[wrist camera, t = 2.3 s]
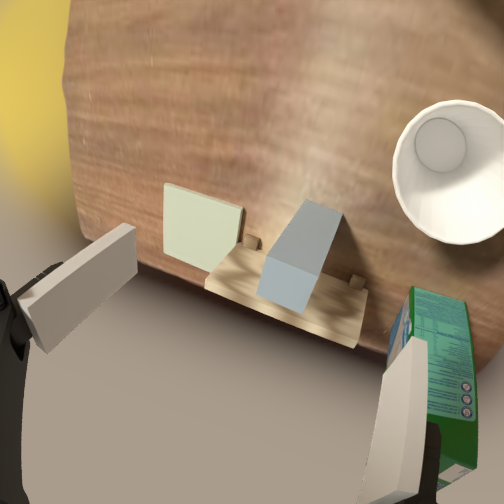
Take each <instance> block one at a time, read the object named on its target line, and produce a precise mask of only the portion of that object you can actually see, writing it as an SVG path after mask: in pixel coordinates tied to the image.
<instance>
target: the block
mask: <svg viewBox="0 0 504 504" xmlns="http://www.w3.org/2000/svg"><path fill="white" fill-rule="evenodd" d="M342 215H343V213H340V212H338V211H335V210H333V209H330V208H328V207H325V206H322V205H320V204H317V203H315V202H312V201H309V200H307V199H306V200H305V201H304V203H303V204H302V205H301V207H300V208H299V210H298V211H297V213H296V214H295V216H294V217H293V218H292V220H291V221H290V223H289V224H288V226H287V227H286V228H285V230H284V231H283V233H282V234H281V236H280V237H279V238H278V240H277V241H276V243H275V244H274V246H273V247H272V248H271V250H270V251H269V253H268V254H267V255H266V259H265V263H264V267H263V270H262V274H261V278H260V281H259V285H258V289H257V292H256V295H258V296H260V297H263V298H265V299H267V300H269V301H272V302H274V303H276V304H279V305H281V306H283V307H286V308H288V309H290V310H293V311H295V312H298V313H300V314H303V311H304V309H305V307H306V305H307V302H308V300H309V298H310V295H311V293H312V291H313V288H314V286H315V283H316V281H317V279H318V276H319V274H320V271H321V269H322V266H323V264H324V261H325V259H326V256H327V254H328V251H329V249H330V246H331V244H332V241H333V238H334V236H335V233H336V231H337V228H338V225H339V223H340V220H341V217H342Z"/></svg>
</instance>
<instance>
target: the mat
mask: <svg viewBox="0 0 504 504" xmlns="http://www.w3.org/2000/svg"><path fill="white" fill-rule="evenodd" d="M243 208H244V207H241V206H238V205H235V204H232V203H229V202H226V201H223V200H220V199H217V198H214V197H211V196H208V195H205V194H202V193H199V192H195V191H192V190H189V189H186V188H183V187H180V186H177V185H174V184H170V183H165V184H164V215H163V233H164V253H166V254H168V255H170V256H172V257H175V258H177V259H179V260H182V261H184V262H186V263H189V264H191V265H193V266H196V267H198V268H200V269H203V270H205V271H208V272H210V273H211V272H212V271H213V270H214V269H215V268H216V267H217V266H218V264H219V263H220V262H221V261H222V260H223V259H224V258H225V257H226V255H227V254H228V253H229V252H230V251H231V250H232V249H233V248H234V247H235V245H236V244H237V243H238V239H239V233H240V227H241V220H242V214H243Z"/></svg>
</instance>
